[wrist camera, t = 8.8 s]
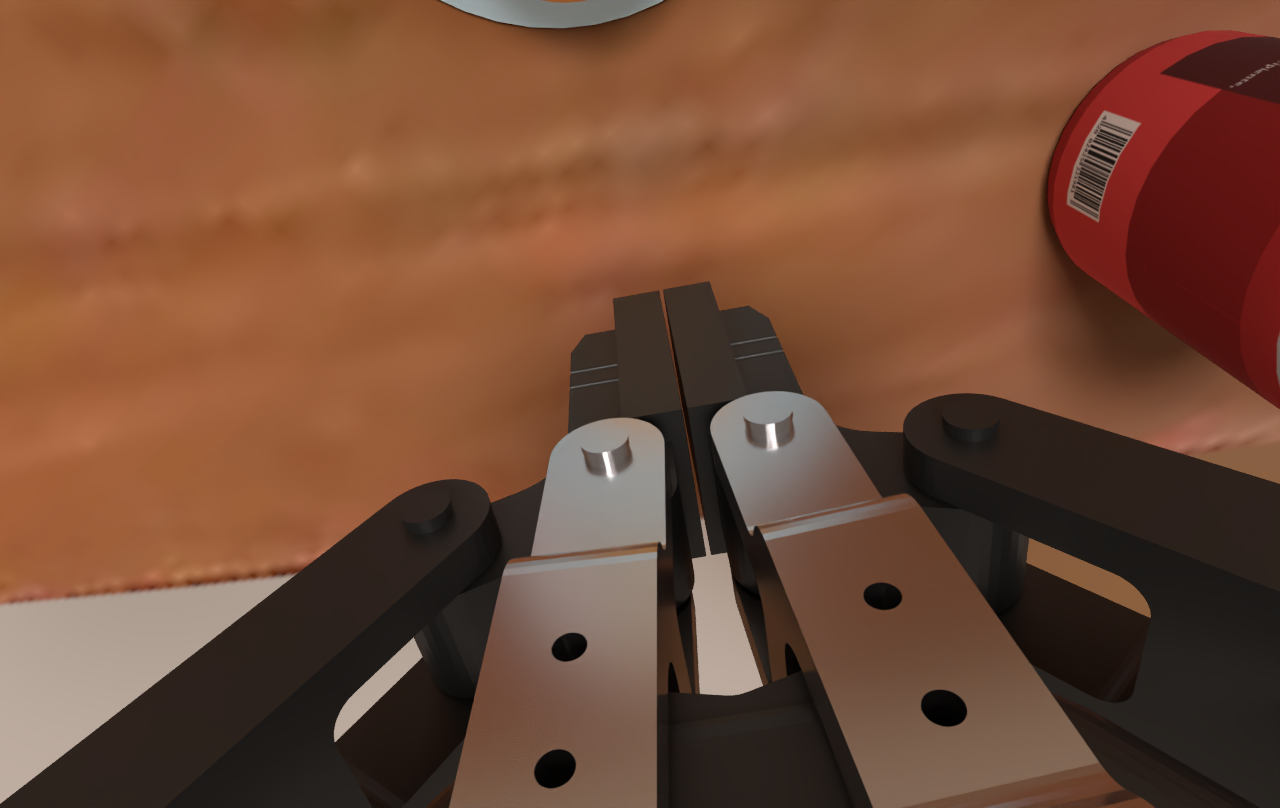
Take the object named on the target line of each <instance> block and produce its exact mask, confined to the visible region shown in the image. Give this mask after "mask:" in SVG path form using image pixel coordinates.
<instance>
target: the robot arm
mask: <svg viewBox="0 0 1280 808" xmlns="http://www.w3.org/2000/svg"><path fill="white" fill-rule="evenodd" d="M663 293H664V299H665V305H666V312H667V318H668V324H669V330H670V336H671V342H672V348H673V354H674V360H675V366H676V372H677V378H678V384H679V390H680V395H681V401H682V407H683V412H684V417H685V422H686V428H687V433H688V438H689V443H690V448H691V453H692V458H693V464H694V469H695V474H696V479H697V484H698V489H699V494H700V500H701V505H702V510H703V515H704V520H705V525H706V530H707V535H708V540H709V545H710V551H711V555H714V554H720V553H726V552H727V554H728V558H729V563H730V567H731V573H732V581H733V587H734V594H735V600H736V604H737V607H738V610H739V613H740V616H741V619H742V622H743V625H744V628H745V631H746V634H747V637H748V641H749V643H750V646H751V650H752V653H753V656H754V659H755V662H756V665H757V668H758V671H759V674H760V677H761V681H762V684H763V686H762V687H759V688H757V689H754V690H752V691H749V692H746V693H743V694H740V695H733V696H723V695H707V694H700V691H699V673H698V653H697V635H696V617H695V605H694V600H693V594H692V589H693V586H694V570H693V564H692V558H697V557H704V556H706V552H705V546H704V539H703V533H702V527H701V521H700V515H699V509H698V503H697V497H696V491H695V485H694V479H693V473H692V467H691V461H690V455H689V449H688V443H687V437H686V431H685V425H684V419H683V413H682V408H681V402H680V397H679V392H678V387H677V382H676V376H675V371H674V366H673V361H672V355H671V350H670V345H669V340H668V335H667V329H666V324H665V319H664V314H663V309H662V303H661V298H660V293H659V291H654V292H648V293H643V294H637V295H631V296H626V297H620V298H615V299H613V303H614V318H615V330H611V331H605V332H599V333H594V334H588V335H585V336H584V337H583V338H582V340H581V341H580V342H579V344H578V345H577V346H576V348H575V349H574V350H573V351H572V353H571V375H570V389H571V390H570V398H569V424H568V435H566V436H565V437H564V438H563V439H561V440H560V441H559V443H558V444H557V445H556V446H555V448H554V449H553V451H552V453H551V456H550V460H549V465H548V471H547V476H546V478H544V479H543V480H542V481H540V482H539V483H537V484H535V485H533V486H531V487H530V488H527V489H525V490H523V491H521V492H518V493H516V494H513V495H510V496H508V497H505V498H503V499H500V500H498V501H495V502H492V503H490V500H489V497H488V494H487V493H486V491H485V490H484V489H483V488H482V487H481V486H479V485H478V484H475V483H473V482H470V481H466V480H458V479H449V480H440V481H435V482H431V483H427V484H424V485H421V486H418V487H415V488H413V489H411V490H409V491H407V492H405V493H403V494H401V495H399V496H398V497H396V498H395V499H393V500H392V501H391V502H389V503H388V504H387V505H385V506H384V507H383V508H382V509H380V510H379V511H378V512H376V513H375V514H374V515H372V516H371V517H370V518H369V519H367V520H366V521H365V522H363V523H362V524H361V525H360V526H358V527H357V528H356V529H354V530H353V531H352V532H351V533H349V534H348V535H347V536H345V537H344V538H343V539H342V540H340V541H339V542H338V543H336V544H335V545H334V546H332V547H331V548H330V549H329V550H327V551H326V552H325V553H323V554H322V555H321V556H320V557H318V558H317V559H316V560H314V561H313V562H312V563H311V564H309V565H308V566H307V567H305V568H304V569H303V570H302V571H300V572H299V573H298V574H296V575H295V576H294V577H292V578H291V579H290V580H289V581H287V582H286V583H285V584H283V585H282V586H281V587H280V588H278V589H277V590H276V591H274V592H273V593H272V594H271V595H269V596H268V597H267V598H265V599H264V600H263V601H262V602H260V603H259V604H258V605H256V606H255V607H254V608H252V609H251V610H250V611H249V612H247V613H246V614H245V615H243V616H242V617H241V618H240V619H238V620H237V621H236V622H234V623H233V624H232V625H231V626H229V627H228V628H227V629H225V630H224V631H223V632H222V633H220V634H219V635H218V636H216V637H215V638H214V639H212V640H211V641H210V642H209V643H207V644H206V645H205V646H203V648H201V649H200V650H198V651H197V652H196V653H195V654H193V655H192V656H191V657H189V658H188V659H187V660H185V661H184V662H183V663H182V664H180V665H179V666H178V667H176V668H175V669H174V670H172V671H171V672H170V673H169V674H167V675H166V676H165V677H163V678H162V679H161V680H160V681H158V682H157V683H156V684H154V685H153V686H152V687H151V688H149V689H148V690H147V691H145V692H144V693H143V694H142V695H140V696H139V697H138V698H136V699H135V700H134V701H133V702H131V703H130V704H129V705H127V706H126V707H125V708H123V709H122V710H121V711H120V712H118V713H117V714H116V715H114V716H113V717H112V718H111V719H109V720H108V721H107V722H106V723H104V724H103V725H102V726H100V727H99V728H98V729H96V730H95V731H94V732H92V733H91V734H90V735H89V736H87V737H86V738H85V739H83V740H82V741H81V742H80V743H78V744H77V745H76V746H74V747H73V748H72V749H71V750H69V751H68V752H67V753H65V754H64V755H63V756H62V757H60V758H59V759H58V760H56V761H55V762H54V763H52V764H51V765H50V766H49V767H47V768H46V769H45V770H43V771H42V772H41V773H40V774H38V775H37V776H36V777H35V778H33V779H32V780H31V781H29V782H28V783H27V784H26V785H24V786H23V787H22V788H20V789H19V790H18V791H16V792H15V793H14V794H12V795H11V796H10V797H9V798H7V799H6V800H5V801H3V802H2V803H1V804H0V808H1280V484H1278V483H1275V482H1271V481H1268V480H1265V479H1262V478H1259V477H1255V476H1252V475H1249V474H1246V473H1242V472H1239V471H1236V470H1232V469H1229V468H1226V467H1223V466H1220V465H1216V464H1213V463H1209V462H1207V461H1203V460H1200V459H1197V458H1194V457H1190V456H1187V455H1184V454H1181V453H1177V452H1174V451H1171V450H1168V449H1164V448H1161V447H1158V446H1155V445H1151V444H1148V443H1145V442H1142V441H1139V440H1135V439H1132V438H1129V437H1126V436H1122V435H1119V434H1116V433H1113V432H1109V431H1106V430H1103V429H1100V428H1096V427H1093V426H1090V425H1087V424H1083V423H1080V422H1077V421H1074V420H1070V419H1067V418H1064V417H1061V416H1057V415H1054V414H1051V413H1048V412H1044V411H1041V410H1038V409H1035V408H1031V407H1028V406H1025V405H1022V404H1019V403H1015V402H1012V401H1009V400H1006V399H1002V398H998V397H994V396H989V395H983V394H971V393H965V394H950V395H944V396H939V397H936V398H932V399H929V400H927V401H925V402H923V403H920V404H919V405H917V406H916V407H914V408H913V409H912V410H911V411H910V412H909V413H908V415H907V416H906V418H905V420H904V424H903V433H902V432H870V431H858V430H852V429H847V428H843V427H839V426H837V425H835V424H834V422H833V421H832V419H831V417H830V416H829V414H828V413H827V411H826V410H825V409H824V407H823V406H822V405H821V404H819V403H818V402H817V401H815V400H813V399H811V398H810V397H807V396H804V395H803V393H802V391H801V389H800V386H799V384H798V382H797V380H796V378H795V375H794V373H793V371H792V369H791V367H790V364H789V362H788V360H787V358H786V356H785V353H783V349H782V347H781V344H780V342H779V340H778V338H777V337H776V333H775V331H774V329H773V327H772V325H771V322H770V320H769V318H768V317H766V316H764V315H763V314H761V313H759V312H758V311H756V310H754V309H753V308H751V307H749V306H745V307H739V308H734V309H728V310H722V311H719V309H718V306H717V303H716V300H715V297H714V294H713V291H712V288H711V285H710V282H703V283H698V284H692V285H687V286H681V287H675V288H670V289H664V290H663ZM1029 538H1031V539H1034V540H1036V541H1038V542H1041V543H1043V544H1045V545H1048V546H1050V547H1053V548H1055V549H1057V550H1060V551H1062V552H1064V553H1067V554H1069V555H1071V556H1074V557H1076V558H1079V559H1081V560H1083V561H1086V562H1088V563H1090V564H1093V565H1095V566H1097V567H1100V568H1102V569H1105V570H1107V571H1109V572H1112V573H1114V574H1116V575H1118V576H1120V577H1122V578H1123V579H1125V580H1127V581H1128V582H1129V583H1131V584H1132V585H1133V586H1134V587H1135V588H1137V590H1138V591H1139V592H1140V593H1141V594H1142V595H1143V597H1144V598H1145V600H1146V601H1147V603H1148V605H1149V608H1150V611H1151V618H1149V617H1146V616H1144V615H1142V614H1140V613H1137V612H1135V611H1133V610H1131V609H1128V608H1126V607H1124V606H1122V605H1119V604H1117V603H1115V602H1113V601H1111V600H1108V599H1106V598H1104V597H1102V596H1099V595H1097V594H1095V593H1093V592H1091V591H1088V590H1086V589H1084V588H1081V587H1079V586H1077V585H1075V584H1072V583H1070V582H1068V581H1066V580H1064V579H1061V578H1059V577H1057V576H1054V575H1052V574H1050V573H1048V572H1046V571H1044V570H1041V569H1039V568H1037V567H1035V566H1032V565H1030V564H1028V563H1026V560H1027V552H1028V544H1029ZM413 637H414V639H415V641H416V643H417V645H418V648H419V650H420V652H421V654H422V656H423V657H422V658H421V659H420V661H418V663H416V664H415V665H414V666H413V667H412V668H411V669H410V670H409V671H408V672H407V673H406V674H405V675H404V676H403V677H402V678H401V679H400V680H399V681H398V682H397V683H396V684H395V685H394V686H393V687H392V688H391V689H390V690H389V691H388V692H386V694H384V695H383V696H382V697H381V698H380V699H379V700H378V701H377V702H376V703H375V704H374V705H373V706H372V707H371V708H370V709H369V710H368V711H367V712H366V713H365V714H364V715H363V716H362V717H361V718H360V719H359V720H358V721H357V722H356V723H355V724H354V725H353V726H352V727H351V728H349V730H347V731H346V732H345V733H344V734H343V735H342V736H341V737H340V738H339V739H338V740H337V741H336V742H334V727H335V723H336V720H337V717H338V715H339V713H340V711H341V709H342V707H343V706H344V704H345V703H346V702H347V700H348V699H349V698H350V697H351V696H352V695H353V694H354V693H355V692H356V691H357V690H358V689H359V688H360V687H361V686H362V685H363V684H364V683H365V682H366V681H368V680H369V679H370V678H371V677H372V676H373V675H374V674H375V673H376V672H377V671H378V670H379V669H380V668H381V667H382V666H383V665H385V664H386V663H387V662H388V661H389V660H390V659H391V658H392V657H393V656H394V655H395V654H396V653H397V652H398V651H399V650H400V649H401V648H403V647H404V645H406V644H407V643H408V642H409V641H410V640H411V639H412V638H413Z"/></svg>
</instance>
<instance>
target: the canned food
mask: <svg viewBox="0 0 1280 808" xmlns="http://www.w3.org/2000/svg"><path fill="white" fill-rule="evenodd" d="M1047 199H1048V206H1049V213H1050V219H1051V221H1052V224H1053V226H1054V229H1055V231H1056V234H1057V236H1058V238H1059V240H1060V242H1061V245H1062V247H1063V249H1064V250H1065V251H1066V253H1067V254H1068V255H1069V257H1070V258H1071V260H1072V261H1073V262H1074V264H1075V265H1077V266H1078V267H1079V268H1080V269H1082V270H1083V271H1084V272H1085V273H1087V274H1088V275H1089V276H1091V277H1092V278H1093V279H1095V280H1096V281H1098V282H1099V283H1101V284H1102V285H1103V286H1105V287H1106V288H1108V289H1109V290H1110V291H1112V292H1113V293H1115V294H1116V295H1118V296H1119V297H1120V298H1122V299H1123V300H1125V301H1126V302H1128V303H1129V304H1130V305H1132V306H1133V307H1135V308H1136V309H1138V310H1139V311H1140V312H1142V313H1143V314H1145V315H1146V316H1148V317H1149V318H1150V319H1152V320H1153V321H1155V322H1156V323H1157V324H1159V325H1160V326H1162V327H1163V328H1165V329H1166V330H1167V331H1169V332H1170V333H1172V334H1173V335H1175V336H1176V337H1177V338H1179V339H1180V340H1182V341H1183V342H1185V343H1186V344H1187V345H1189V346H1190V347H1192V348H1193V349H1194V350H1196V351H1197V352H1199V353H1200V354H1202V355H1203V356H1204V357H1206V358H1207V359H1209V360H1210V361H1212V362H1213V363H1214V364H1216V365H1217V366H1219V367H1220V368H1222V369H1223V370H1224V371H1226V372H1227V373H1229V374H1230V375H1232V376H1233V377H1234V378H1236V379H1237V380H1239V381H1240V382H1241V383H1243V384H1244V385H1246V386H1247V387H1249V388H1250V389H1251V390H1253V391H1254V392H1256V393H1257V394H1259V395H1260V396H1261V397H1263V398H1264V399H1266V400H1267V401H1269V402H1270V403H1271V404H1273V405H1274V406H1276V407H1277V408H1279V409H1280V38H1274V37H1268V36H1261V35H1255V34H1249V33H1243V32H1237V31H1203V32H1199V33H1195V34H1190V35H1186V36H1182V37H1178V38H1174V39H1171V40H1167V41H1163V42H1161V43H1159V44H1156V45H1154V46H1152V47H1150V48H1147V49H1145V50H1143V51H1140V52H1138V53H1137V54H1135V55H1134V56H1132V57H1131V58H1129V59H1128V60H1126V61H1125V62H1123V63H1122V64H1120V65H1118V66H1117V67H1116V68H1115V69H1113V70H1112V71H1111V72H1110V73H1109V74H1108V75H1107V76H1106V77H1104V78H1103V79H1102V80H1101V81H1100V82H1099V83H1098V84H1097V85H1096V86H1095V87H1094V88H1093V89H1092V90H1091V92H1090V93H1089V94H1088V95H1087V96H1086V98H1085V99H1084V100H1083V101H1082V102H1081V104H1080V105H1079V106H1078V107H1077V109H1076V111H1075V112H1074V114H1073V116H1072V117H1071V119H1070V121H1069V122H1068V124H1067V125H1066V127H1065V129H1064V131H1063V133H1062V136H1061V138H1060V140H1059V143H1058V145H1057V147H1056V150H1055V152H1054V156H1053V160H1052V164H1051V168H1050V172H1049V177H1048V195H1047Z"/></svg>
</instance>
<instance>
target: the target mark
mask: <svg viewBox="0 0 1280 808" xmlns="http://www.w3.org/2000/svg"><path fill="white" fill-rule="evenodd" d="M441 1H444V2H446V3H448V4H450V5H452V6H454V7H456V8H458V9H461V10H463V11H465V12H469V13H472V14H475V15H478V16H481V17H484V18H488V19H491V20H494V21H497V22H503V23H509V24H514V25H520V26H526V27H539V28H570V27H579V26H587V25H596V24H600V23H604V22H608V21H611V20H615V19H619V18H623V17H626V16H630V15H632V14H634V13H637V12H639V11H641V10H644V9H646V8H648V7H651V6H653V5H655V4H658V3H660V2H662V1H663V0H586V1H581V2H570V3H560V2H549V1H543V0H441Z"/></svg>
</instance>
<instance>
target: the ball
mask: <svg viewBox="0 0 1280 808" xmlns="http://www.w3.org/2000/svg"><path fill="white" fill-rule="evenodd" d="M543 1H549V2H560V3H570V2H581V1H586V0H543Z"/></svg>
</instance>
